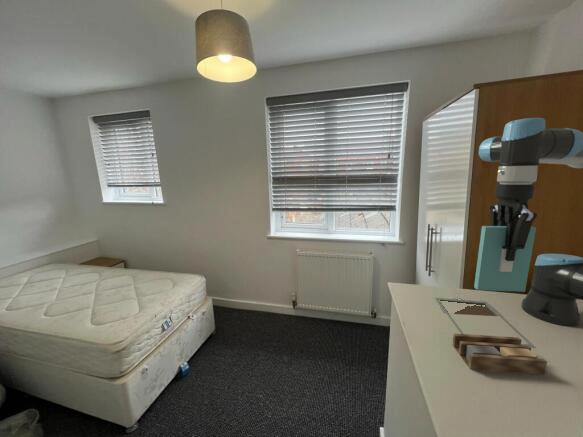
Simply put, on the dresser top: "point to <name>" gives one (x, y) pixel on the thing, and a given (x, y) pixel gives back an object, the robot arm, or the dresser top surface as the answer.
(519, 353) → the offcut oak
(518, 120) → the robot arm
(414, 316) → the dresser top surface
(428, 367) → the dresser top surface
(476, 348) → the offcut charcoal
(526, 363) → the rack
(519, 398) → the dresser top surface
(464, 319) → the dresser top surface
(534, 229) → the teal rectangular slab
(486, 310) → the framed cork board
